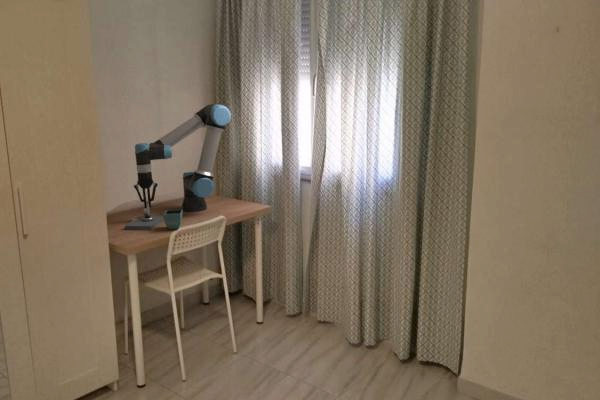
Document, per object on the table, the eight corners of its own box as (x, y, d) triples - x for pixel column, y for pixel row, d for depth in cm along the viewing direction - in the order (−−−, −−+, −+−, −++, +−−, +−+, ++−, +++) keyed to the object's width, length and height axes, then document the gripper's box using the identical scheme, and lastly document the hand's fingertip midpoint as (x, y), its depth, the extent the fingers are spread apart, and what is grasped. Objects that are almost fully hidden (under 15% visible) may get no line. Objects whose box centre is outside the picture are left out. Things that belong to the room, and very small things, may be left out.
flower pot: (167, 226, 271) (166, 209, 269) (183, 225, 272) (182, 209, 270) (164, 230, 263) (163, 214, 261) (181, 230, 264) (180, 213, 262)
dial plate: (163, 219, 284) (163, 216, 283) (151, 229, 264) (150, 225, 264) (138, 219, 284) (138, 215, 284) (125, 229, 265) (124, 225, 264)
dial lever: (154, 220, 274) (153, 212, 273) (142, 221, 272) (142, 213, 271) (151, 215, 284) (150, 208, 284) (140, 216, 282) (139, 209, 281)
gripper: (155, 169, 281) (159, 210, 286) (131, 171, 276) (136, 213, 282) (157, 171, 274) (160, 213, 279) (132, 173, 269) (137, 216, 275)
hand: (148, 213), depth 280 cm, fingers closed
